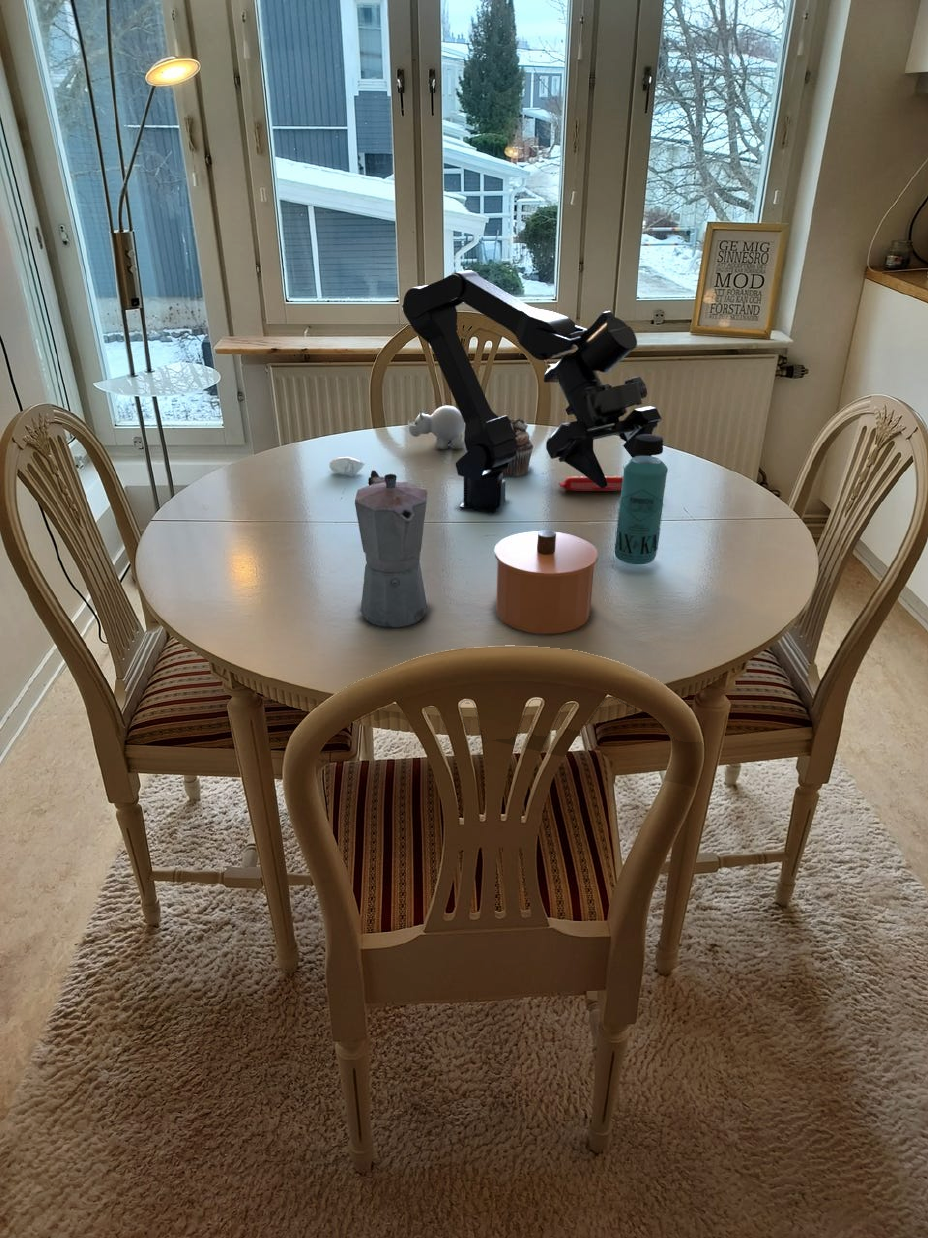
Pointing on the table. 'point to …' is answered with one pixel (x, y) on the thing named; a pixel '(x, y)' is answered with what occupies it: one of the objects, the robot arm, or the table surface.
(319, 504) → the table surface
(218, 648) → the table surface
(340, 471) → the dumpling
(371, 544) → the moka pot
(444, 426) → the toy rhinoceros
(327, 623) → the table surface
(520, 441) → the cupcake
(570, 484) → the candy bar
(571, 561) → the pot lid
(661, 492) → the beverage bottle
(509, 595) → the pot
